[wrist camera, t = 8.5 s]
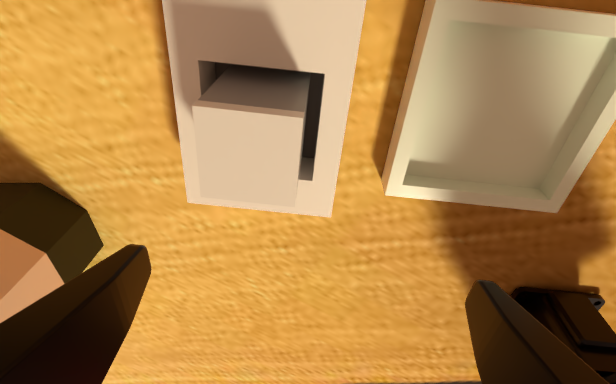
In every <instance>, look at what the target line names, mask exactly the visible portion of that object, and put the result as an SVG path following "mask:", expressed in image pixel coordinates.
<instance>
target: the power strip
mask: <svg viewBox="0 0 616 384" xmlns="http://www.w3.org/2000/svg"><path fill="white" fill-rule="evenodd" d="M162 5H163V13H164V21H165V28H166V36H167V44H168V52H169V60H170V68H171V76H172V84H173V92H174V99H175V107H176V115H177V123H178V131H179V139H180V147H181V155H182V163H183V170H184V178H185V186H186V194H187V202H188V203H196V204H206V205H216V206H225V207H235V208H245V209H254V210H264V211H274V212H283V213H293V214H303V215H312V216H322V217H331V213H332V207H333V201H334V195H335V189H336V183H337V176H338V170H339V164H340V158H341V152H342V146H343V140H344V134H345V128H346V121H347V115H348V109H349V103H350V97H351V91H352V85H353V79H354V73H355V66H356V60H357V54H358V48H359V42H360V36H361V30H362V24H363V18H364V12H365V5H366V0H162ZM231 64H234V65H243V66H251V67H260V68H269V69H278V70H287V71H296V72H304V73H311V74H310V84H309V94H308V104H307V114H306V124H305V134H304V144H303V152H302V159H301V166H300V173H299V181H298V188H297V195H296V203H295V207H288V206H279V205H269V204H260V203H251V202H242V201H232V200H223V199H214V198H205V197H201V196H200V185H199V174H198V163H197V152H196V142H195V131H194V120H193V109H192V105H193V104H194V103H195V102H196V101H197V100H198V99H199V98H200V97H201V96H202V95H203V94H204V93H205V92H206V91H207V89H208V88H209V87H210V86H211V85H212V84H213V83H214V82H215V81H216V80H217V79H218V78H219V77H220V76H221V75H222V74H223V73H224V71H225V70H226V69H227V68H228V67H229V66H230V65H231Z"/></svg>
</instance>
